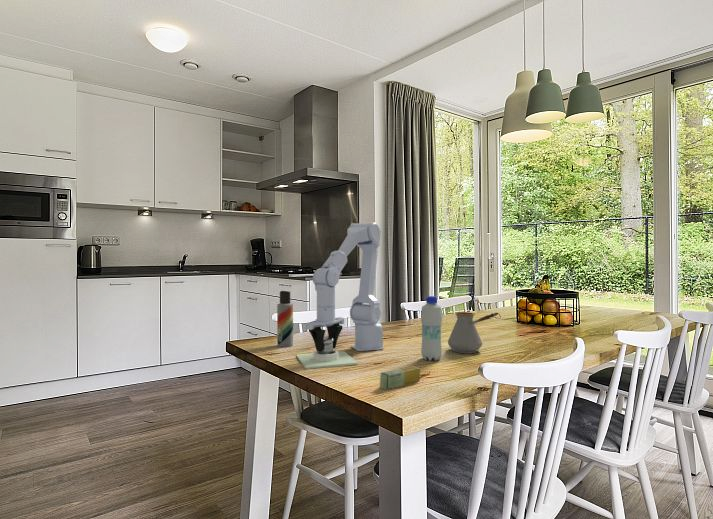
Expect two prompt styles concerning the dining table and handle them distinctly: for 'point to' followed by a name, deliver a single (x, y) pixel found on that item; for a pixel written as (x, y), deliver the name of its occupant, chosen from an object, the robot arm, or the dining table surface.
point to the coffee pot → (466, 333)
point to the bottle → (431, 329)
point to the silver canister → (327, 345)
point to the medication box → (399, 377)
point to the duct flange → (326, 359)
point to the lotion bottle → (285, 320)
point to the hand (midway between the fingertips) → (326, 349)
